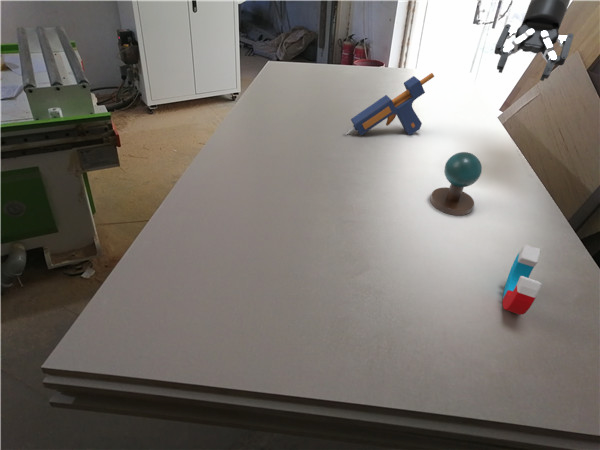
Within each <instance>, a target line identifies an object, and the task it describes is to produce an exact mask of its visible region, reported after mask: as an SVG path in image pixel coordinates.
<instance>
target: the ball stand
mask: <svg viewBox="0 0 600 450" xmlns="http://www.w3.org/2000/svg"><path fill="white" fill-rule="evenodd" d="M443 171H444V176H445V178H446V180H447V182H449V183H450V185H449V187H445V186H444V187H438V188H436V189H434V190H433V191H432V193H431V195H430V198H429V199H430V203H431V205H432V206H433V207H434V208H435V209H436V210H438V211H440V212H441V213H444V214H447V215H451V216H466V215H468V214H470V213H472V211H473V208H474V207H475V200H474V198H473V197H472V196H471V195H469V193H467V192H465V191H463V190H464V188H467V187H470V186H472V185H474V184H475V183H476V182H477V181H478V180H479V179H480V178H481V175H482V171H483V166H482V162H481V160H480V159H479V157H477V156H476V155H475V154H473V153H472V152H467V151H461V152H457V153H455V154H453V155H451V156H450V157H449V158H448V160H446V162H445V165H444V170H443Z"/></svg>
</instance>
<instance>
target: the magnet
mask: <svg viewBox="0 0 600 450" xmlns="http://www.w3.org/2000/svg"><path fill="white" fill-rule="evenodd" d="M541 251H542V250H541V248H539V247H535V246H531V245H528V244H524V245H523V246H522V247H521V249H520V250H519V251H518V253H517V255H516V257H515V259H514V260H513V263H512V265H511V267H510V270H509V273H508V276H507V278H506V282H505V286H504V289H503V294H502V308H503V309H504V310H505V311H508V312H510V313H514V314H516V315H524V314H526V313H527V312H528V311H529V310H530V308H531V307H532V305H533V303H534V302H535V301H536V298H537V296H538V294H539V292H540V290H541V287H542V283H541V282H540V281H538V280H537V279H533V278H530V275H531V274H532V271H533V269H534V268H535V267H536V265H537V264H538V262H539V259H540V254H541Z"/></svg>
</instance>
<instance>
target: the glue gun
mask: <svg viewBox="0 0 600 450" xmlns="http://www.w3.org/2000/svg"><path fill="white" fill-rule="evenodd" d="M433 78H435V75H434V73H433V72H430V73H429V74H428V75H427V76H425V77H423V78H422V79H419V78H417V77H416V76H415V75H413V76H411V77H410V78H408V79H407V80H406V81H404V82H403V86H404V87H405V89H406V90H404V91H403V92H402V93H401V94H399V95H397V96H396V97H394V98H393V99H391V98H390V96H388V95H387V94H385V95H383V96H382V97H381V98H379V99H377V101H375V102H374V103H372V104H371V105H369V106H368V107H366V108H365V109H363V110H362V111H360V112H359V113H357V114H356V115H355V116H352V117H351V119H350V121H351V123H352V127H351V128H350V129H349V130H348V131H347V132H346V133H345V135H349V134H350V133H353V132H355V131H356V132H358V134H359V135H360V136H362V135H364V134H366V133H367V132H368V131H370V130H371V129H373V128H374V127H376V126H377V125H379V124H381V123H382V122H383V121H386V123H385V125H386V126H387V127H388V126H389V125H390V124H391V123H392V122H393V121H394V120H395V118H396V117H397V119H398V121H399V123H400V125H401V126H402V129H403V130H404V131H405V132H406V133H407V134H408V135H409V136H412V135H413V134H415V133H416V132H418V131H420V130H421V127H422V124H423V123H422V121H421V120H420V118H419V117H418V116H419V115H417V113H416V111H415V110H414V108H413V103H414V102H415V101H416V100H417V99H419V97H421V96H422V95H424V94H425V93H426V91H425V88H424V87H423V85H424V84H426V83H427V82H429V81H431V80H432V79H433Z"/></svg>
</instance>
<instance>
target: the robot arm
mask: <svg viewBox="0 0 600 450" xmlns="http://www.w3.org/2000/svg"><path fill="white" fill-rule="evenodd" d="M570 1H571V0H530V2H529V4H528V7H527V10H526V12H525V15H524V18H523V19H522V22H521V25H520V26H519V27H518V28H516V27H511V26H512V25H511V24H510V23H506V24H505V25H504V27H503V29H502V31H501V33H500V36H499V38H498V40H497V42H496V44H495V47H494V55H499V56H500V57H499V59H498V61H497V66H496V70H498V73H499V74H502V73H503V71H504V69H505V67H506V63H507V61H508V58H509V57H510V56H511V55H513V54H516V53H519V51H521V50H522V52H526V53H527V52H529V53H533V54H538V55H539V53H540V54H541V56H542V59H544V60H545V62H546V63H545V66H544V68H543V71H542V74H541V77H540V79H539V80H540V81H542V82H544V81H545V79H546V80H548V79H549V77H550V76H551V74H552V71H553V68H554V66H556V65H558V66H563V65H564V64H565V63H566V60H567V58H568V57H569V53H570V49H571V46H572V43H573V39H574V36H575V35H574V33H568V34H566V35H562V34H560V33H559V30H560V28H561V25H562V23H563V20H564V18H565V15H566V12H567V10H568V7H569V4H570ZM513 36H514V37H515V39H513V40H512V41H511V43H509V44H507V45H506V46H504V45H505V43H506V41H507V40H509V39H511V38H512V37H513ZM556 43H558V44H559V45H558V46H559V47H560V48H561V51H560V53H559V55H557V54H556V51H555V47H554V45H555V44H556Z"/></svg>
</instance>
